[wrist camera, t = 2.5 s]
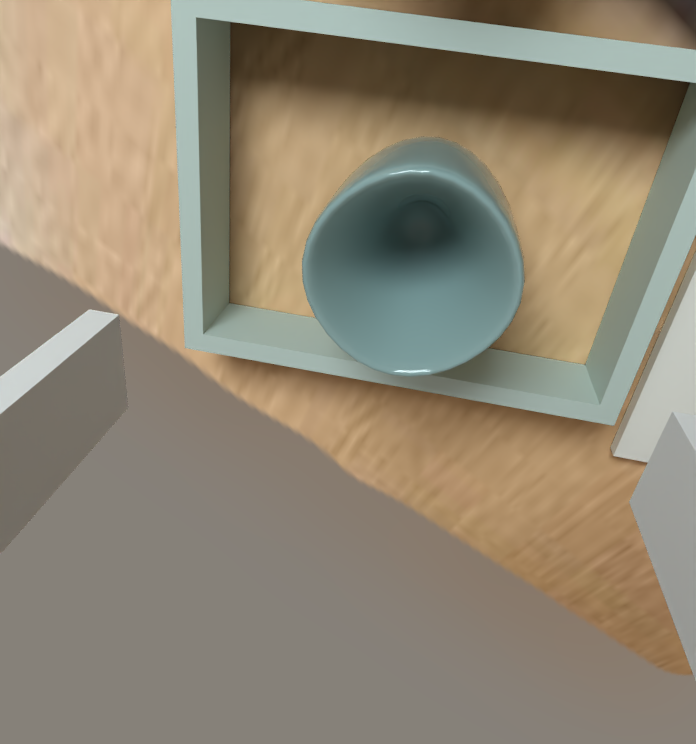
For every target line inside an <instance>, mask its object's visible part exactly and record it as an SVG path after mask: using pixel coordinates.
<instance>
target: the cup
mask: <svg viewBox="0 0 696 744" xmlns="http://www.w3.org/2000/svg"><path fill="white" fill-rule="evenodd" d="M302 274H303V284H304V288H305V292H306V296H307V300H308V302H309V304H310V306H311V309H312V311H313V313H314V315H315V317H316V319H317V320H318V322H319V323H320V325H321V326H322V328H323V329H324V331H325V332H326V333H327V335H328V336H329V337H330V338H331V339H332V340H333V341H334V342H335V343H336V344H337V345H338V346H339V347H340V348H341V349H342V350H343V351H344V352H346V353H347V354H348V355H350V356H351V357H352V358H353V359H355V360H356V361H358V362H360V363H362V364H364V365H365V366H367V367H369V368H371V369H373V370H376V371H379V372H383V373H386V374H389V375H395V376H405V377H415V376H426V375H432V374H436V373H439V372H443V371H447V370H450V369H452V368H454V367H457V366H459V365H461V364H464V363H466V362H468V361H469V360H471V359H473V358H474V357H476V356H477V355H479V354H480V353H482V352H484V351H485V350H486V349H487V348H488V347H489V346H491V345H492V344H493V343H494V342H495V341H496V340H497V339H498V338H499V337H500V336H501V335H502V334H503V332H504V331H505V330H506V328H507V327H508V326H509V325H510V323H511V322H512V320H513V318H514V316H515V314H516V312H517V309H518V307H519V305H520V303H521V299H522V294H523V288H524V282H525V272H524V256H523V250H522V246H521V242H520V239H519V235H518V231H517V228H516V224H515V221H514V217H513V214H512V210H511V207H510V205H509V202H508V200H507V198H506V196H505V194H504V192H503V190H502V188H501V186H500V184H499V182H498V181H497V179H496V178H495V177H494V175H493V174H492V173H491V171H490V170H489V169H488V167H487V166H486V165H485V163H483V162H482V161H481V160H480V159H479V158H478V157H477V156H476V155H475V154H474V153H473V152H471V151H470V150H468V149H466V148H465V147H463V146H461V145H460V144H458V143H456V142H454V141H451V140H448V139H444V138H441V137H429V136H421V137H416V138H410V139H405V140H402V141H400V142H397V143H395V144H392V145H390V146H387V147H386V148H384V149H382V150H381V151H379V152H378V153H376V154H375V155H373V156H371V157H370V158H368V159H367V160H366V161H365V162H364V163H363V164H362V165H360V166H359V167H358V168H357V169H356V170H355V171H354V172H353V173H352V174H351V175H349V177H348V178H347V179H346V180H345V181H344V182H343V184H342V185H341V186H340V188H339V189H338V190H337V191H336V193H335V194H334V195H333V197H332V198H331V199H330V201H329V202H328V203H327V204H326V206H325V207H324V208H323V210H322V211H321V213H320V214H319V216H318V217H317V219H316V221H315V223H314V225H313V228H312V230H311V232H310V234H309V236H308V238H307V241H306V245H305V250H304V254H303V258H302Z"/></svg>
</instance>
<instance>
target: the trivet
mask: <svg viewBox="0 0 696 744" xmlns="http://www.w3.org/2000/svg"><path fill="white" fill-rule="evenodd" d="M672 411H673V412H679V413H685V414H690V415H696V251H695V254H694V256H693V258H692V261H691V263H690V265H689V268H688V270H687V272H686V275H685V277H684V279H683V281H682V284H681V286H680V288H679V291H678V293H677V295H676V298H675V300H674V302H673V304H672V307H671V309H670V311H669V314H668V316H667V318H666V321H665V323H664V325H663V327H662V330H661V332H660V334H659V337H658V339H657V341H656V344H655V346H654V348H653V350H652V353H651V355H650V357H649V360H648V362H647V364H646V367H645V369H644V371H643V373H642V376H641V378H640V380H639V383H638V385H637V387H636V390H635V392H634V394H633V396H632V399H631V401H630V403H629V406H628V408H627V410H626V413H625V415H624V417H623V419H622V422H621V424H620V426H619V429H618V431H617V433H616V436H615V438H614V440H613V442H612V445H611V447H610V448H611V451H612V454H613V456H616V457H621V458H626V459H632V460H637V461H642V462H648V461H649V459H650V457H651V455H652V453H653V451H654V449H655V447H656V445H657V443H658V440H659V438H660V436H661V434H662V432H663V430H664V428H665V426H666V424H667V422H668V419H669V417H670V415H671V413H672Z"/></svg>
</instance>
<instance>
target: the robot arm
mask: <svg viewBox="0 0 696 744" xmlns="http://www.w3.org/2000/svg"><path fill="white" fill-rule="evenodd" d="M127 409H128V401H127V390H126V380H125V370H124V360H123V349H122V339H121V329H120V319H119V315H118V314H112V313H106V312H101V311H95V310H88V311H87V312H85V313H84V314H83V315H81V316H80V317H79V318H77V319H76V320H75V321H74V322H72V323H71V324H70V325H68V326H67V327H65V328H64V329H63V330H62V331H60V332H59V333H58V334H56V335H55V336H53V337H52V338H51V339H50V340H48V341H47V342H46V343H44V344H43V345H42V346H40V347H39V348H38V349H36V350H35V351H34V352H32V353H31V354H30V355H28V356H27V357H26V358H24V359H23V360H22V361H20V362H19V363H18V364H17V365H15V366H14V367H12V368H11V369H10V370H8V371H7V372H6V373H5V374H3V375H2V376H1V377H0V554H1V553H2V552H3V551H4V550H5V548H6V547H7V546H8V545H9V544H10V543H11V541H12V540H13V539H14V538H15V537H16V536H17V535H18V534H19V532H20V531H21V530H22V529H23V528H24V527H25V526H26V524H27V523H28V522H29V521H30V520H31V519H32V517H33V516H34V515H35V514H36V513H37V511H38V510H39V509H40V508H41V507H42V506H43V505H44V504H45V503H46V501H47V500H48V499H49V498H50V497H51V496H52V495H53V493H54V492H55V491H56V490H57V489H58V487H59V486H60V485H61V484H62V483H63V482H64V481H65V480H66V479H67V477H68V476H69V475H70V474H71V473H72V472H73V471H74V469H75V468H76V467H77V466H78V465H79V464H80V463H81V461H82V460H83V459H84V458H85V457H86V456H87V455H88V453H89V452H90V451H91V450H92V449H93V448H94V446H95V445H96V444H97V443H98V442H99V441H100V440H101V438H102V437H103V436H104V435H105V434H106V433H107V432H108V430H109V429H110V428H111V427H112V426H113V425H114V424H115V422H116V421H117V420H118V419H119V418H120V417H121V415H122V414H123V413H124V412H125V411H126V410H127ZM629 503H630V505H631V508H632V511H633V514H634V516H635V519H636V522H637V524H638V527H639V530H640V532H641V535H642V538H643V540H644V543H645V546H646V549H647V551H648V554H649V557H650V559H651V562H652V565H653V567H654V570H655V573H656V576H657V578H658V581H659V584H660V586H661V589H662V592H663V594H664V597H665V600H666V603H667V605H668V608H669V611H670V613H671V616H672V619H673V621H674V624H675V627H676V630H677V632H678V635H679V638H680V640H681V643H682V646H683V648H684V651H685V654H686V657H687V659H688V662H689V665H690V667H691V670H692V673H693V675H694V678H695V681H696V415H690V414H685V413H679V412H673V411H672V413H671V415H670V417H669V419H668V422H667V424H666V426H665V428H664V430H663V432H662V434H661V436H660V438H659V440H658V443H657V445H656V447H655V449H654V451H653V453H652V455H651V457H650V459H649V461H648V463H647V466H646V468H645V470H644V472H643V474H642V476H641V478H640V480H639V482H638V484H637V486H636V489H635V491H634V493H633V495H632V497H631V499H630V501H629Z"/></svg>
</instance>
